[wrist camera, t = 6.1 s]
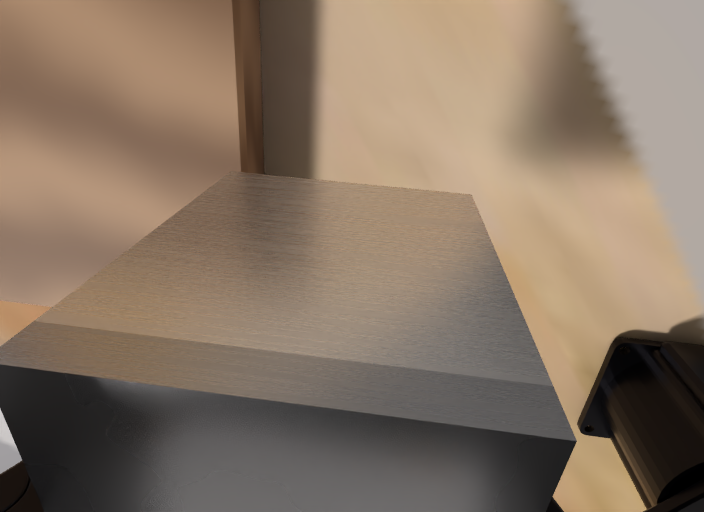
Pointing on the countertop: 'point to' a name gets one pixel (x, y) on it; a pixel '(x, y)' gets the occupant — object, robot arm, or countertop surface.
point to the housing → (291, 364)
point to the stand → (116, 127)
